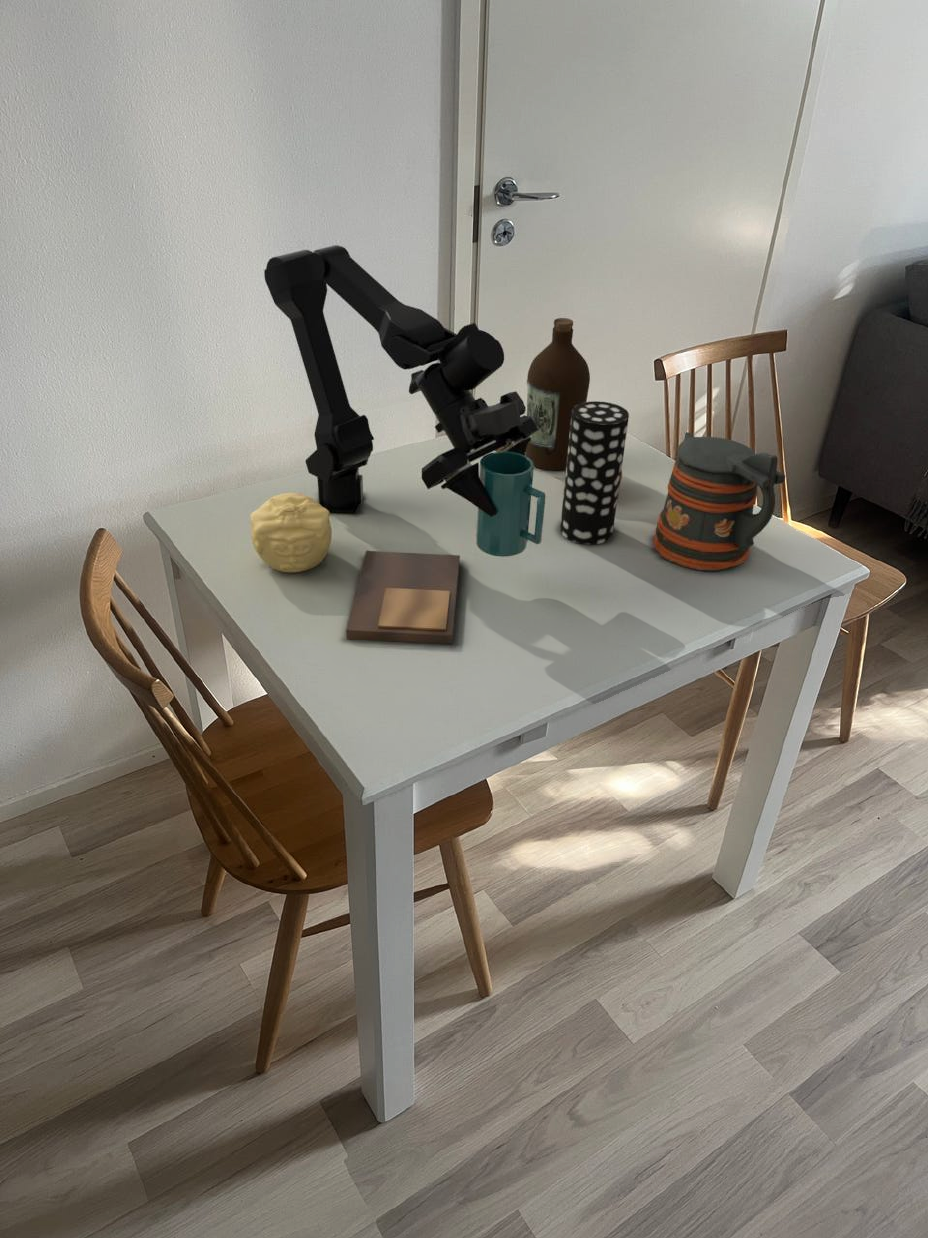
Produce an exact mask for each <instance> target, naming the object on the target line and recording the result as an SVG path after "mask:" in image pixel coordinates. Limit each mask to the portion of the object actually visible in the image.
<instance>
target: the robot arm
mask: <svg viewBox="0 0 928 1238" xmlns="http://www.w3.org/2000/svg"><path fill="white" fill-rule="evenodd" d="M263 275H264V281H265V284H266V286H267V289H268V291H269V294H270V296H271V298H272V301H273V304H274V305H275V306H276V307H277V308H278V309H279V310H280V311H281V312H282V313H283V314H284V316H286V317H287V319H289V321H290V323H291V326H292V329H293V333H294V336H295V340H296V343H297V347H298V349H299V353H300V356H301V360H302V363H303V366H304V370H305V373H306V377H307V380H308V383H309V386H310V389H311V393H312V396H313V400H314V404H315V407H316V411H317V415H318V416H317V421H316V425H315V429H314V434H313V436H314V440H315V446H316V450H315V451H313V452H312V453H311V454H310V455H309V456H308V457H306V459H305V465H306V468H307V472H308V474H310V475H312V476H314V477H316V478H317V493H318V503H319V504H320V505H321V506H322V507H324V508H325V509H327V510H328V511H329V513H342V514H343V513H344V514H345V513H347V514H356V513H357V512H358V510H359V508H360V507H359V506H361V504H362V503H363V500H364V482H363V481H364V477H363V475H362V474H360V468H361V467H365V466H367V465H368V462H369V459H370V457H371V454H372V452H373V451H374V444H373V441H374V440H375V438H374V436H373V433H372V432H371V431H372V430H371V429H370V422H369V419H368V417H367V416H366V415H365V414H362V415H359V414H358V413H357V412H356V411H355V410H354V408H352V406H351V405H350V402H349V397H348V395H347V391H346V388H345V384H344V381H343V377H342V374H341V370H340V367H339V363H338V359H337V357H336V356H337V355H336V353H335V349H334V346H333V342H332V338H331V335H330V331H329V328H328V324H327V320H326V318H325V314H324V307H325V303H326V299H327V295H328V287H329V288H330V289H332V291H333V292H335V293H336V294H337V295H338V296H339V297H340V298H341V299H343V301H344V302H345V303H346V304H348V305H349V306H350V307H351V308H352V309H353V310H354V311H355V312H356V313H357V314H358V315H360V316H361V318H363V319H364V320H365V321H366V322H367V323H368V324H369V325H370V326H372V327H373V329H374V330H375V331H376V332H377V333H378V337H379V341H380V346H381V348H382V349H383V351H385V353H386V354H387V355H388V357H389V358H390V359H391V360H392V361H393V363H394V364H395V365H396V366H397V367H399V368H400V369H402V370H412V369H414V368H418V367H422V366H426V365H428V367H427V368H426V369H424V370H423V369H420V370H417V371H415V372H412V373H411V375H410V377H411V379H410V383H409V386H408V393H409V394H410V395H414V394H416V393H419V392H421V393H422V395H423V397H424V398H425V400H426V402H427V404H428V405H429V407H430V409H431V410H432V412H433V414H434V416H435V418H436V420H437V421H438V423H437V424H435V426H434V428H435V430H436V432H437V433H438V434H439V433H441V432H444V433H445V435H446V436H447V438H448V440H449V442H450V444H451V445H452V447H453V448H451V449H448V450H446V451H445V452H442V453H440V454H439V455H437V456H436V457H435V458H433V459H432V460H431V461H429V462H428V463H427V464H425V465H424V466H423V467H422V468H421V480H422V481H423V483H424V486H425V487H426V489H427V490H430V489H432V488H434V487H436V486H438V485H440V484H441V485H440V488H441V489H442V490H445V489H447V490H448V491H451V492H452V493H454V494H456V495H457V496H460V497H461V498H463V499H464V500H466V501H467V502H469V503H471V504H472V505H473V506H475V508H477V509H478V508H479V509H481V510H482V511H484V512H485V513H486V514H488V515H489V516H491V517H492V516H494V515H496V514H497V511H496V509H495V506H494V504H493V502H492V500H491V498H490V496H489V494H488V493H487V491H486V489H485V487H484V485H483V483H482V482H481V480H480V478H479V472H480V462H476V463H474V464H471V463H473V462H474V461H476V460H478V459H481V458H483V457H484V456H485V455H487V454H490V453H494V452H500V451H501V452H515V453H520V454H522V455H525V454H526V448H527V444H528V443H529V442H530V441H531V437H529V436H531V435H532V434H533V433H535V432H536V431H538V428H537V426H536V425H535V423H534V421H533V419H532V418H530V417H528V416H527V415H525V413H526V412H527V406H526V405H525V403H524V400H523V399H522V397H521V396H520V394H519V393H518V391H510V392H508V393H505V394H503V395H501V396H499V397H500V398H499V402H498V403H496V404H493V405H488V404H487V402H486V400H485V399H484V398H482V397H478V398H477V399H475V397H474V395H473V394H472V392H471V391H472V390H475V389H476V388H477V387H479V385H481V384H482V383H483V382H484V381H485V380H487V379H488V378H489V377H490V376H492V375H493V374H494V373H495V372H496V371H498V370H499V369H500V368H501V367H502V366H503V365H504V362H505V353H504V349H503V346H502V344H501V342H500V341H499V340H498V339H496V338H495V337H494V336H493V335H492V334H491V333H489V332H487V331H485V330H481V329H479V327H478V325H477V324H476V323H475V322H472V323H469V324H466V325H464V326H462V328H460V329H459V330H458V332H457V333H455V332H453V331H452V330H449V329H448V328H447V327H446V328H445V327H444V326H443V324H442V323H441V322H440V320H438V319H437V318H435V317H434V316H432V315H431V314H429V313H427V312H426V311H425V310H422V309H421V308H417V307H413V306H411V305H407V304H404V303H403V302H401V301H400V300H399V299H397V297H395V296H394V295H393V294H392V293H391V292H390V291H389V290H387V289H386V288H385V287H384V286H383V285H382V284H381V283H380V282H378V281H377V279H375V278H374V277H373V276H372V275H371V274H370V273H369V272H367V270H365V269H364V268H363V267H362V266H361V265H360V264H358V262H356V261H355V259H353V257H351V255H350V253H349V251H348V250H347V248H345V247H344V246H343V245H337V244H334V245H330V246H326V247H322V248H317V249H315V250H313V251H311V250H309V249H301V250H297V251H294V252H289V253H285V254H281V255H276V256H273V257H271V258H270V259H268V261H267V264H266V268H265V269H264V271H263ZM436 361H439V362H436ZM434 362H435V363H434ZM431 363H432V364H431ZM429 364H430V365H429ZM528 437H529V438H528ZM526 438H527V439H526ZM442 483H443V484H442Z"/></svg>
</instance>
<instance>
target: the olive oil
mask: <svg viewBox="0 0 928 1238" xmlns="http://www.w3.org/2000/svg"><path fill="white" fill-rule="evenodd" d="M573 327H574V320H572V319H571V318H567V317H559V318H555V319H554V320H553V328H552V335H551V342H550V343H549V344H548V345H547V346H546V347H544V348H543V350H542V351H540V352H539V353H538V354H537V355H535V357H534V358H533V360H532V362H531V363H530V366H529V368H528V372H527V377H526V378H527V379H526V416H528V417H530V418H532V419H533V421H534V423H535V425H536V426H537V428H538V431H536V432H535V433H533V434H532V435H531V436H529V437H531V441H530V442H529V443H528V444H527V448H526V452H525V456H527V457H528V458H530V459H531V460H532V461H533V465H534V468H539V469H540V470H541V469H542V470H546V471H562V470H566V466H567V456H568V446H569V436H570V426H571V416H572V409H573V408H574V406H576V405H578V404H580V403H584V402H588V401H587V400H588V395H589V394H588V393H589V389H590V382H591V373H590V369H589V364H588V363H587V361H586V359H585V358H584V357H583V355H582V354H581V353H580V352H579V350H578V349H577V348H576V347H575V346H574V344H573V337H574V336H573V335H574V328H573ZM529 437H528V438H529ZM526 439H527V438H526Z"/></svg>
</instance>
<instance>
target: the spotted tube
mask: <svg viewBox="0 0 928 1238" xmlns="http://www.w3.org/2000/svg"><path fill="white" fill-rule="evenodd" d="M629 418H630V413H629V411H628V410H627V409H626V408H624V407H623V406H621V405H619V404H616V403H612V402H607V401H597V400H594V401H593V400H592V401H586V402H584V403H580V404H578V405H576V406H574V408H573V409H572V416H571V426H570V436H569V446H568V456H567V466H566V469H565V476H564V485H563V486H564V487H563V496H562V506H561V516H560V526H559V531H560V533H561V535H562V536H563V537H564V538H566V539H567V540H569V541H571V542H573V543H577V544H581V545H599V544H603V543H606V542H608V541H609V540H610V539H612V537H613V534H614V528H615V527H614V526H615V521H616V512H617V505H618V497H619V491H620V485H621V483H620V477H621V470H622V471H623V463H624V454H625V447H626V442H627V441H626V440H627V434H628V433H627V432H628V425H629ZM619 484H620V485H619Z"/></svg>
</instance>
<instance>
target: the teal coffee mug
mask: <svg viewBox="0 0 928 1238" xmlns="http://www.w3.org/2000/svg"><path fill="white" fill-rule="evenodd" d="M534 468H535V466H534V465H533V461H532V460H531V459H530V458H528V457H527V456H525V455H522V454H520V453H515V452H501V451H500V452H496V451H493V452H491V453H489V454H487V455H485V456H483V457H481V458H480V461H479V478H480V480H481V482H482V483H483V485H484V487H485V489H486V491H487V493H488V494H489V496H490V498H491V500H492V502H493V504H494V506H495V509H496V511H497V514H496V515H494V516H492V517H491V516H489V515H488V514H486V513H485V512H484V511H482V510H481V509H479V508H478V507H477V511H476V512H477V514H476V517H477V519H476V534H475V537H476V539H475V540H476V541H475V542H476V546H477V548H478V549H479V550H480V551H481V552H483V553H485V554H487V555H490V556H493V557H500V558H502V557H503V558H506V557H507V558H508V557H513V556H517V555H519V554H521V553H523V552H524V551H525V550H526V548H527V546H528V541H529V542H531V543H534V544H535V545H540V544H541V542H542V539H543V538H542V537H543V529H544V528H543V527H544V517H545V508H546V497H547V496H546V493H545V492H544V491H541V490H539V489H537V488H534V487H533V481H534V480H533V479H534V470H535V469H534ZM532 497H534V498H537V502H536V514H535V515H536V516H535V525H534V534H533V533H532V532H529V527H530V515H531V514H530V513H531V505H532V504H531V503H532Z"/></svg>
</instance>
